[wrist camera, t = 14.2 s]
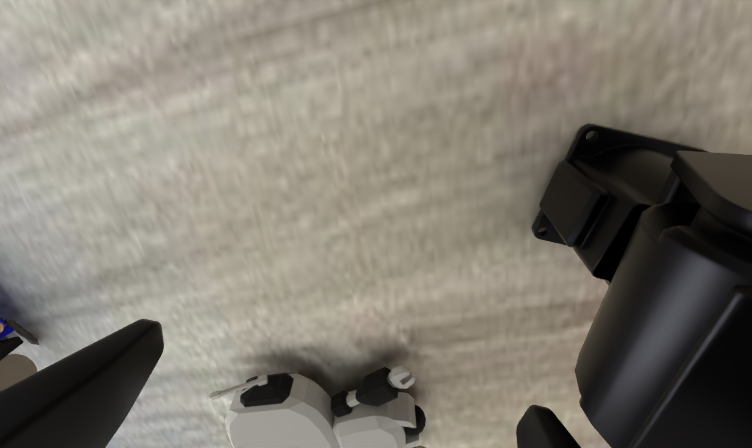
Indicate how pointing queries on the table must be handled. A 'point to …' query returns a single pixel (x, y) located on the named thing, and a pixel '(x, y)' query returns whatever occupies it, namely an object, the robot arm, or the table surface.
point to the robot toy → (324, 413)
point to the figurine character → (14, 355)
